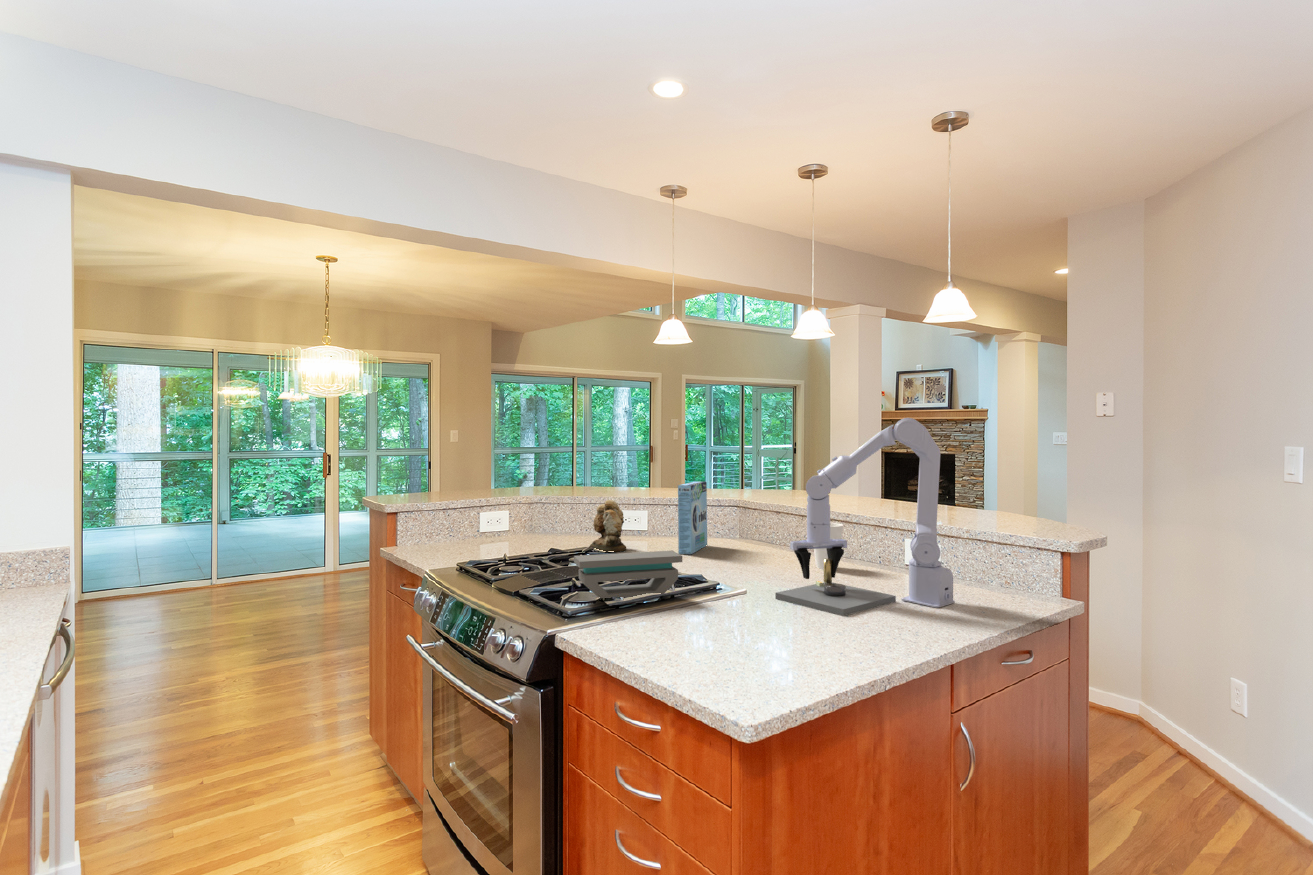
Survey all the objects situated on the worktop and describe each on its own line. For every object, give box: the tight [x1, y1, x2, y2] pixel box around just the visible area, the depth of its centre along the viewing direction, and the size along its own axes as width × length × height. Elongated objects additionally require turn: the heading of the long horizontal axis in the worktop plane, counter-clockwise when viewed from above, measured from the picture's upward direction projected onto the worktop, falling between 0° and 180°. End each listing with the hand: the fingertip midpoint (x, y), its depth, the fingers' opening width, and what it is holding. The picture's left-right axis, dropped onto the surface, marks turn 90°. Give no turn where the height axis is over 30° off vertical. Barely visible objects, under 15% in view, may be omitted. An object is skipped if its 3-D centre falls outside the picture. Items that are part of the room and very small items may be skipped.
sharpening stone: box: [573, 550, 683, 599], centre depth 168 cm, size 25×8×11 cm, turn 106°
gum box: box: [677, 481, 708, 555], centre depth 239 cm, size 20×5×23 cm, turn 160°
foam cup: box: [813, 522, 844, 570], centre depth 206 cm, size 10×9×13 cm
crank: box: [823, 559, 846, 596], centre depth 170 cm, size 10×5×7 cm, turn 0°
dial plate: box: [774, 580, 897, 617], centre depth 168 cm, size 20×20×2 cm
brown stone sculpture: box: [589, 499, 627, 553], centre depth 241 cm, size 18×12×17 cm, turn 27°
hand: (818, 577), depth 174 cm, fingers open, 6 cm apart
